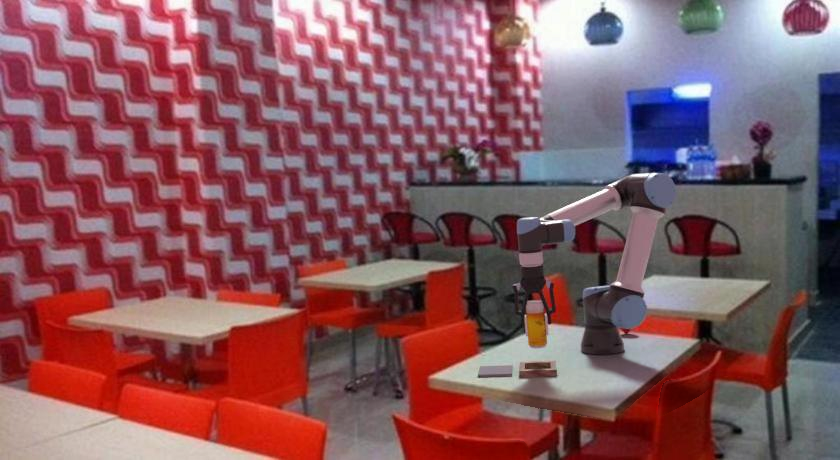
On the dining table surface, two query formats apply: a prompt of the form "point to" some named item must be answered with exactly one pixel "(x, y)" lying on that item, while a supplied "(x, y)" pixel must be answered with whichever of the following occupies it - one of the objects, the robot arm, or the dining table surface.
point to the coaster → (495, 371)
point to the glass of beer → (536, 324)
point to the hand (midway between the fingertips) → (537, 334)
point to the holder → (530, 370)
